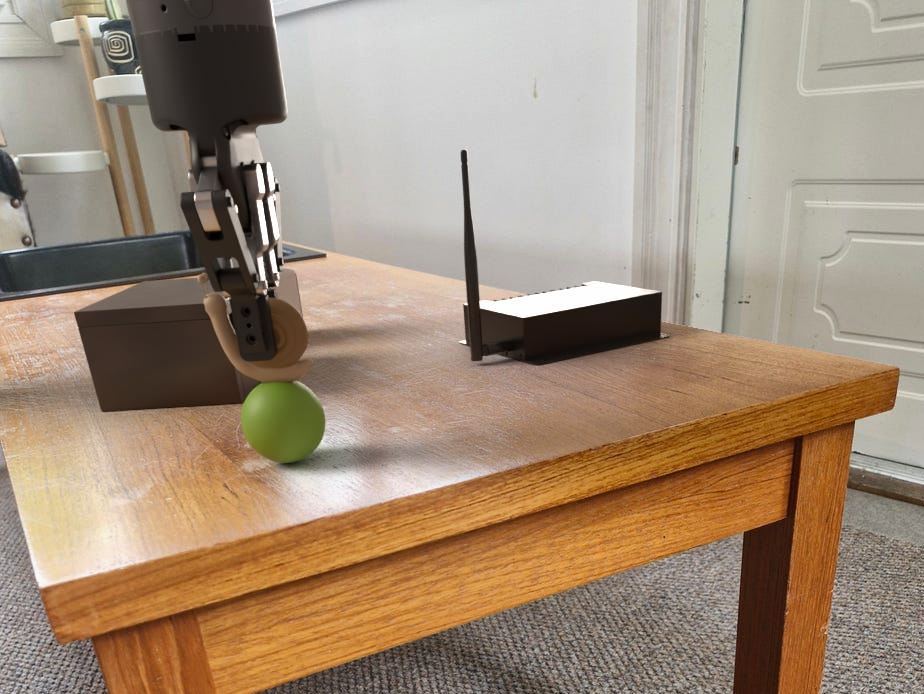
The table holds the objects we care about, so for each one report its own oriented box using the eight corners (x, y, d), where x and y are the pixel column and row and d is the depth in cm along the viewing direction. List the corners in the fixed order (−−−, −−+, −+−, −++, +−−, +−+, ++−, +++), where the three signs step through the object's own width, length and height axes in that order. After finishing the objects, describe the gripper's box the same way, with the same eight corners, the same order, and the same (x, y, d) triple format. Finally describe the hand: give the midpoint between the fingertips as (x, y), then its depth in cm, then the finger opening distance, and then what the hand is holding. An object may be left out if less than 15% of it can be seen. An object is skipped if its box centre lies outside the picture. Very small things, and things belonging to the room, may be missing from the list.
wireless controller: (584, 317, 97) (583, 136, 88) (672, 336, 86) (681, 131, 78) (421, 349, 88) (403, 151, 80) (497, 373, 78) (485, 148, 69)
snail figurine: (247, 451, 63) (210, 268, 57) (337, 446, 63) (310, 261, 57) (225, 477, 58) (183, 280, 52) (322, 472, 58) (291, 273, 52)
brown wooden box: (101, 411, 75) (73, 311, 71) (163, 366, 89) (143, 281, 85) (241, 403, 75) (221, 302, 71) (282, 359, 88) (267, 272, 84)
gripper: (176, 42, 54) (234, 337, 63) (85, 19, 43) (171, 386, 51) (298, 32, 54) (339, 330, 63) (240, 6, 42) (301, 378, 51)
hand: (264, 354), depth 57 cm, fingers closed on snail figurine
